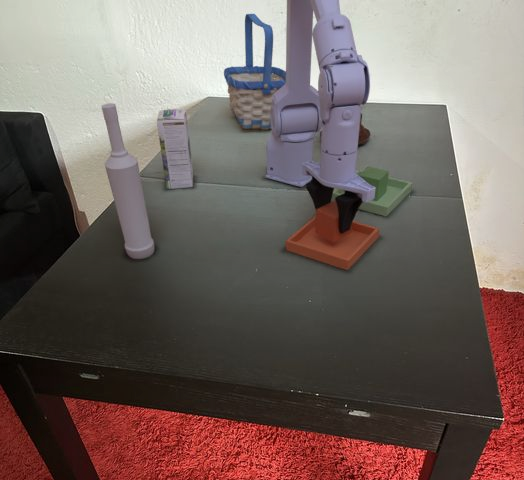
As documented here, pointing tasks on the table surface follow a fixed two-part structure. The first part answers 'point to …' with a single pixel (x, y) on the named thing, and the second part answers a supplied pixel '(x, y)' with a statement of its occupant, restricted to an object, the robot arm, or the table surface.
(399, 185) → the green tray
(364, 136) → the cup and saucer
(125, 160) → the bottle
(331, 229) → the clay block
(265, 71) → the basket
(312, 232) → the clay tray
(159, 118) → the syrup box
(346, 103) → the robot arm
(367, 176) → the green block
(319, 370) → the table surface
